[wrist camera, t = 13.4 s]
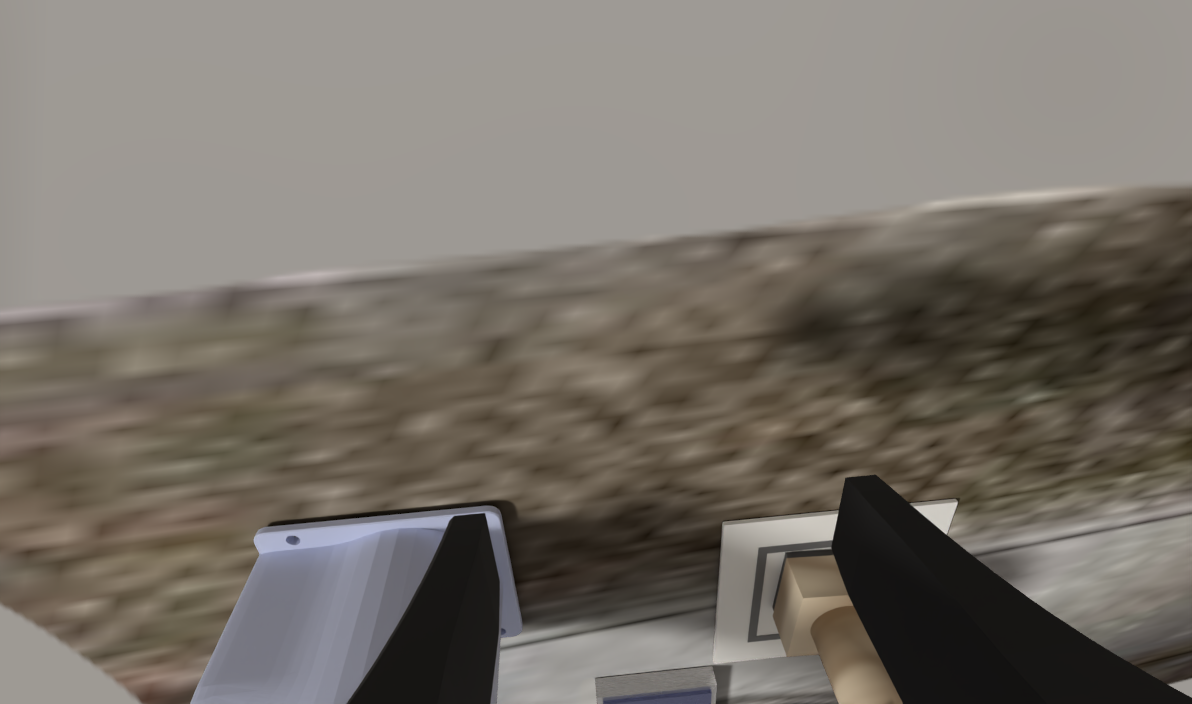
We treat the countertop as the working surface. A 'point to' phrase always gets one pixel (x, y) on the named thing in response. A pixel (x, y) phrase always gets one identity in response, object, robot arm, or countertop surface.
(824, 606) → the stamp
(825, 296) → the countertop surface
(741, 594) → the paper
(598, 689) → the ink pad
